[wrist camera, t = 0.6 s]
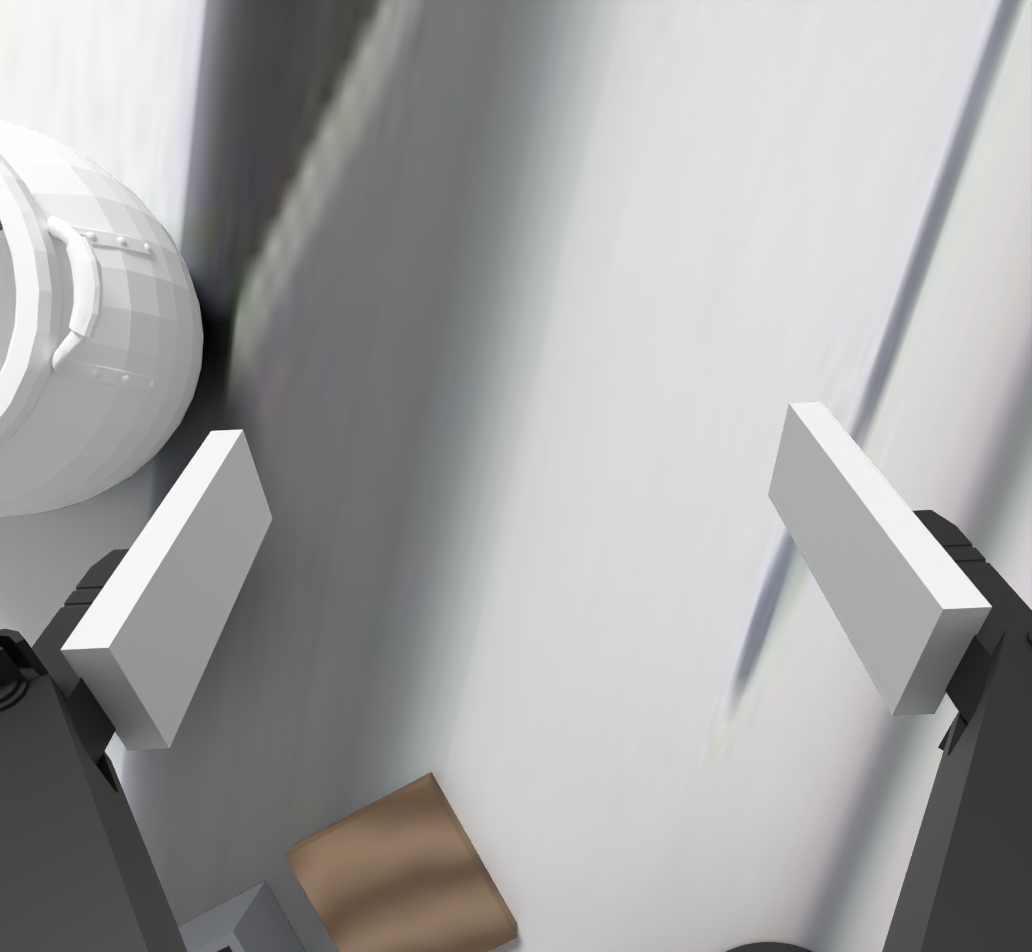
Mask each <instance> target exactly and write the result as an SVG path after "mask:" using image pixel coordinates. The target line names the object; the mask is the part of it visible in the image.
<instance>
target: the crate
mask: <svg viewBox="0 0 1032 952" xmlns="http://www.w3.org/2000/svg"><path fill="white" fill-rule="evenodd" d="M178 929H179V931H180V934H181V936H182V939H183V941H184V944H185V946H186V949H187V951H188V952H217V951H219V950H221V949H223V948H225V947H227V946H230V948H231V950H232V951H233V952H306V951H305V950H304V948H303V946H302V944H301V943H300V941H299V939H298V937H297V936H296V934H295V932H294V930H293V929H292V927H291V925H290V924H289V922H288V920H287V918H286V917H285V915H284V913H283V911H282V910H281V908H280V906H279V904H278V903H277V901H276V899H275V897H274V896H273V894H272V892H271V890H270V889H269V887H268V885H267V883H266V882H265V881H264V882H262V883H260V884H258V885H257V886H255V887H253V888H251V889H249V890H247V891H245V892H243V893H241V894H240V895H238V896H236V897H234V898H232V899H230V900H228V901H226V902H224V903H222V904H221V905H219V906H217V907H215V908H213V909H211V910H209V911H207V912H205V913H204V914H202V915H200V916H198V917H196V918H194V919H192V920H190V921H188V922H186V923H185V924H183V925H181V926H179V927H178Z"/></svg>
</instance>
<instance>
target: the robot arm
mask: <svg viewBox="0 0 1032 952" xmlns="http://www.w3.org/2000/svg"><path fill="white" fill-rule="evenodd" d="M768 496H769V497H770V499H771V501H772V503H773V505H774V506H775V508H776V510H777V512H778V513H779V515H780V517H781V519H782V521H783V522H784V524H785V526H786V528H787V530H788V531H789V533H790V535H791V537H792V538H793V540H794V542H795V544H796V546H797V547H798V549H799V551H800V553H801V554H802V556H803V558H804V560H805V562H806V563H807V565H808V567H809V569H810V570H811V572H812V574H813V576H814V578H815V579H816V581H817V583H818V585H819V586H820V588H821V590H822V592H823V594H824V595H825V597H826V599H827V601H828V602H829V604H830V606H831V608H832V610H833V611H834V613H835V615H836V617H837V618H838V620H839V622H840V624H841V626H842V627H843V629H844V631H845V633H846V634H847V636H848V638H849V640H850V642H851V643H852V645H853V647H854V649H855V651H856V652H857V654H858V656H859V658H860V659H861V661H862V663H863V665H864V667H865V668H866V670H867V672H868V674H869V675H870V677H871V679H872V681H873V683H874V684H875V686H876V688H877V690H878V691H879V693H880V695H881V697H882V699H883V700H884V702H885V704H886V706H887V707H888V709H889V711H890V713H891V715H892V716H895V715H918V714H935V712H936V710H937V708H938V706H939V705H940V703H941V701H942V699H943V697H944V695H945V694H946V693H947V694H948V696H949V697H950V699H951V700H952V702H953V703H954V705H955V706H956V708H957V709H958V711H959V712H958V714H957V715H956V717H955V719H954V721H953V722H952V724H951V726H950V728H949V729H948V731H947V733H946V735H945V736H944V738H943V740H942V742H941V743H940V745H939V747H938V748H940V749H942V750H944V752H943V755H942V758H941V761H940V765H939V768H938V771H937V775H936V778H935V781H934V784H933V788H932V791H931V794H930V797H929V801H928V804H927V807H926V810H925V814H924V817H923V820H922V824H921V827H920V830H919V833H918V837H917V840H916V843H915V846H914V850H913V853H912V856H911V860H910V863H909V866H908V869H907V873H906V876H905V879H904V882H903V886H902V889H901V892H900V896H899V899H898V902H897V905H896V909H895V912H894V915H893V918H892V922H891V925H890V928H889V932H888V935H887V938H886V941H885V945H884V948H883V951H882V952H1032V610H1031V609H1030V608H1029V607H1028V606H1027V605H1026V604H1025V602H1024V601H1023V600H1022V599H1021V598H1020V597H1019V596H1018V595H1017V593H1016V592H1015V591H1014V590H1013V589H1012V588H1011V587H1010V586H1009V585H1008V583H1007V582H1006V581H1005V580H1004V579H1003V578H1002V577H1001V576H1000V575H999V573H998V572H997V571H996V570H995V569H994V568H993V567H992V566H991V564H990V563H986V561H985V560H986V559H985V558H984V557H983V556H982V554H981V553H980V552H979V551H978V550H977V549H976V548H973V547H972V543H971V542H970V541H969V540H968V539H967V538H966V537H965V535H964V534H963V533H962V532H961V531H960V530H959V529H958V528H957V526H956V525H954V524H952V523H951V522H949V521H948V520H946V519H945V518H943V517H941V516H940V515H938V514H937V513H935V512H934V511H932V510H920V511H912V510H911V509H910V508H909V507H908V505H907V504H906V503H905V502H904V501H903V499H902V498H901V497H900V496H899V495H898V493H897V492H896V491H895V490H894V489H893V487H892V486H891V485H890V484H889V483H888V481H887V480H886V479H885V478H884V477H883V475H882V474H881V473H880V472H879V471H878V469H877V468H876V467H875V466H874V465H873V463H872V462H871V461H870V460H869V459H868V457H867V456H866V455H865V454H864V453H863V451H862V450H861V449H860V448H859V447H858V445H857V444H856V443H855V442H854V441H853V439H852V438H851V437H850V436H849V435H848V433H847V432H846V431H845V430H844V429H843V427H842V426H841V425H840V424H839V423H838V421H837V420H836V419H835V418H834V417H833V415H832V414H831V413H830V412H829V411H828V409H827V408H826V407H825V406H824V405H823V403H822V402H804V403H789V405H788V410H787V414H786V419H785V423H784V427H783V432H782V436H781V441H780V445H779V450H778V454H777V459H776V463H775V467H774V472H773V476H772V481H771V485H770V490H769V494H768ZM271 521H272V516H271V513H270V510H269V507H268V504H267V501H266V498H265V495H264V492H263V489H262V486H261V483H260V480H259V477H258V474H257V471H256V468H255V465H254V462H253V459H252V456H251V453H250V450H249V447H248V443H247V440H246V437H245V434H244V431H243V430H222V431H211V432H210V433H209V435H208V436H207V438H206V439H205V441H204V442H203V444H202V445H201V447H200V448H199V449H198V451H197V452H196V454H195V455H194V457H193V458H192V460H191V461H190V462H189V464H188V465H187V467H186V468H185V470H184V471H183V473H182V474H181V476H180V477H179V478H178V480H177V481H176V483H175V484H174V486H173V487H172V489H171V490H170V491H169V493H168V494H167V496H166V497H165V499H164V500H163V502H162V503H161V505H160V506H159V507H158V509H157V510H156V512H155V513H154V515H153V516H152V518H151V519H150V521H149V522H148V523H147V525H146V526H145V528H144V529H143V531H142V532H141V534H140V535H139V536H138V538H137V539H136V541H135V542H134V544H133V545H132V547H131V548H130V549H123V550H113V551H111V552H110V553H109V554H107V555H106V556H105V557H104V558H102V559H101V560H100V561H99V562H97V563H96V564H95V565H93V566H92V567H91V568H90V569H89V571H88V572H87V573H86V575H85V576H84V577H83V579H82V580H81V581H80V583H79V584H78V585H77V587H76V591H73V592H72V594H71V595H70V596H69V598H68V599H67V600H66V602H65V603H64V604H65V606H64V607H62V608H61V609H60V610H59V611H58V613H57V614H56V615H55V617H54V618H53V619H52V621H51V622H50V623H49V625H48V626H47V628H46V629H45V630H44V632H43V633H42V634H41V636H40V637H39V638H38V640H37V641H36V642H35V644H34V645H33V647H32V648H31V647H30V646H29V644H28V643H27V641H26V640H25V639H24V637H23V636H22V635H21V634H20V633H19V632H18V631H13V630H8V629H1V630H0V952H188V951H187V949H186V946H185V944H184V941H183V939H182V936H181V934H180V931H179V929H178V926H177V924H176V921H175V919H174V916H173V914H172V911H171V909H170V906H169V904H168V901H167V899H166V896H165V894H164V891H163V889H162V886H161V884H160V881H159V879H158V876H157V874H156V871H155V869H154V866H153V864H152V861H151V859H150V856H149V854H148V851H147V849H146V846H145V844H144V842H143V839H142V837H141V834H140V832H139V829H138V827H137V824H136V822H135V819H134V817H133V814H132V812H131V809H130V807H129V804H128V802H127V799H126V797H125V794H124V792H123V789H122V787H121V784H120V782H119V779H118V777H117V774H116V772H115V769H114V767H113V764H112V762H111V760H110V758H109V757H108V756H107V754H106V753H105V749H106V747H107V745H108V743H109V741H110V739H111V738H112V736H113V734H114V732H116V734H117V735H118V737H119V738H120V739H121V741H122V742H123V744H124V745H125V747H126V748H127V750H141V749H163V748H170V746H171V744H172V741H173V739H174V737H175V735H176V733H177V730H178V728H179V726H180V724H181V721H182V719H183V717H184V715H185V712H186V710H187V708H188V706H189V704H190V701H191V699H192V697H193V695H194V692H195V690H196V688H197V686H198V683H199V681H200V679H201V677H202V675H203V672H204V670H205V668H206V666H207V663H208V661H209V659H210V657H211V654H212V652H213V650H214V648H215V646H216V643H217V641H218V639H219V637H220V634H221V632H222V630H223V628H224V625H225V623H226V621H227V619H228V617H229V614H230V612H231V610H232V608H233V605H234V603H235V601H236V599H237V596H238V594H239V592H240V590H241V588H242V585H243V583H244V581H245V579H246V576H247V574H248V572H249V570H250V567H251V565H252V563H253V561H254V559H255V556H256V554H257V552H258V550H259V547H260V545H261V543H262V541H263V538H264V536H265V534H266V532H267V529H268V527H269V525H270V523H271ZM727 952H812V951H810V950H807V949H804V948H802V947H798V946H795V945H790V944H785V943H776V942H762V943H753V944H748V945H744V946H740V947H737V948H734V949H731V950H729V951H727Z"/></svg>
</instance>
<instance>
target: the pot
mask: <svg viewBox="0 0 1032 952" xmlns="http://www.w3.org/2000/svg"><path fill="white" fill-rule="evenodd" d="M202 350H203V328H202V320H201V312H200V305H199V302H198V298H197V295H196V292H195V289H194V286H193V283H192V280H191V277H190V274H189V271H188V268H187V265H186V263H185V262H184V260H183V258H182V256H181V254H180V252H179V251H178V249H177V247H176V245H175V243H174V241H173V240H172V238H171V236H170V235H169V233H168V232H167V231H166V230H165V228H164V227H163V226H162V225H161V223H160V222H159V221H158V220H157V219H156V217H155V216H154V215H153V214H152V213H151V211H150V210H149V209H148V208H147V207H146V205H145V204H144V203H143V202H142V201H141V199H140V198H139V197H138V196H137V195H136V194H135V193H134V192H133V191H132V190H130V189H129V188H128V187H127V186H125V185H124V184H123V183H122V182H121V181H119V180H118V179H117V178H116V177H114V176H113V175H112V174H111V173H109V172H108V171H107V170H105V169H104V168H102V167H101V166H100V165H98V164H97V163H95V162H94V161H92V160H91V159H89V158H88V157H86V156H84V155H83V154H81V153H79V152H77V151H75V150H73V149H71V148H69V147H67V146H65V145H64V144H62V143H60V142H58V141H56V140H54V139H52V138H50V137H48V136H46V135H43V134H41V133H39V132H37V131H35V130H33V129H29V128H26V127H22V126H19V125H15V124H12V123H9V122H5V121H2V120H0V517H8V516H18V515H28V514H35V513H41V512H47V511H52V510H57V509H60V508H63V507H66V506H69V505H73V504H76V503H79V502H82V501H85V500H88V499H90V498H92V497H94V496H96V495H98V494H100V493H102V492H104V491H105V490H107V489H109V488H111V487H113V486H114V485H116V484H118V483H120V482H121V481H123V480H125V479H127V478H129V477H130V476H132V475H133V474H134V473H135V472H137V471H138V470H139V469H140V468H141V467H142V466H143V465H145V464H146V463H147V462H148V461H149V460H150V459H151V458H153V457H154V456H155V455H156V454H157V453H158V452H159V451H160V449H161V448H162V447H163V446H164V444H165V443H166V442H167V440H168V439H169V438H170V437H171V435H172V434H173V433H174V431H175V430H176V429H177V427H178V426H179V425H180V423H181V421H182V419H183V417H184V415H185V413H186V411H187V409H188V407H189V405H190V403H191V401H192V399H193V397H194V393H195V389H196V385H197V382H198V378H199V374H200V370H201V365H202Z"/></svg>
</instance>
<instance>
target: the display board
mask: <svg viewBox="0 0 1032 952" xmlns="http://www.w3.org/2000/svg"><path fill="white" fill-rule="evenodd" d="M285 858H286V859H287V861H288V863H289V865H290V866H291V868H292V870H293V872H294V873H295V875H296V877H297V879H298V880H299V882H300V884H301V886H302V887H303V889H304V891H305V893H306V894H307V896H308V898H309V900H310V901H311V903H312V905H313V907H314V908H315V910H316V912H317V914H318V915H319V917H320V919H321V921H322V922H323V924H324V926H325V928H326V929H327V931H328V933H329V935H330V936H331V938H332V940H333V942H334V943H335V945H336V947H337V949H338V950H339V952H488V951H490V950H492V949H494V948H496V947H498V946H500V945H502V944H504V943H506V942H508V941H510V940H512V939H514V938H516V930H517V923H516V921H515V919H514V917H513V916H512V914H511V912H510V910H509V908H508V907H507V905H506V903H505V901H504V900H503V898H502V896H501V894H500V893H499V891H498V889H497V887H496V886H495V884H494V882H493V880H492V878H491V877H490V875H489V873H488V871H487V870H486V868H485V866H484V864H483V863H482V861H481V859H480V857H479V855H478V854H477V852H476V850H475V848H474V847H473V845H472V843H471V841H470V840H469V838H468V836H467V834H466V833H465V831H464V829H463V827H462V825H461V824H460V822H459V820H458V818H457V817H456V815H455V813H454V811H453V810H452V808H451V806H450V804H449V803H448V801H447V799H446V797H445V795H444V794H443V792H442V790H441V788H440V787H439V785H438V783H437V781H436V780H435V778H434V776H433V774H432V772H431V773H429V774H427V775H425V776H423V777H421V778H419V779H417V780H416V781H414V782H412V783H410V784H408V785H406V786H404V787H402V788H400V789H399V790H397V791H395V792H393V793H391V794H389V795H387V796H385V797H383V798H382V799H380V800H378V801H376V802H374V803H372V804H370V805H368V806H367V807H365V808H363V809H361V810H359V811H357V812H355V813H353V814H351V815H350V816H348V817H346V818H344V819H342V820H340V821H338V822H336V823H334V824H333V825H331V826H329V827H327V828H325V829H323V830H321V831H319V832H317V833H316V834H314V835H312V836H310V837H308V838H306V839H304V840H302V841H300V842H299V843H297V844H295V845H293V846H292V847H291V849H290V851H289V852H288V854H287V855H286V857H285Z"/></svg>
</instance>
